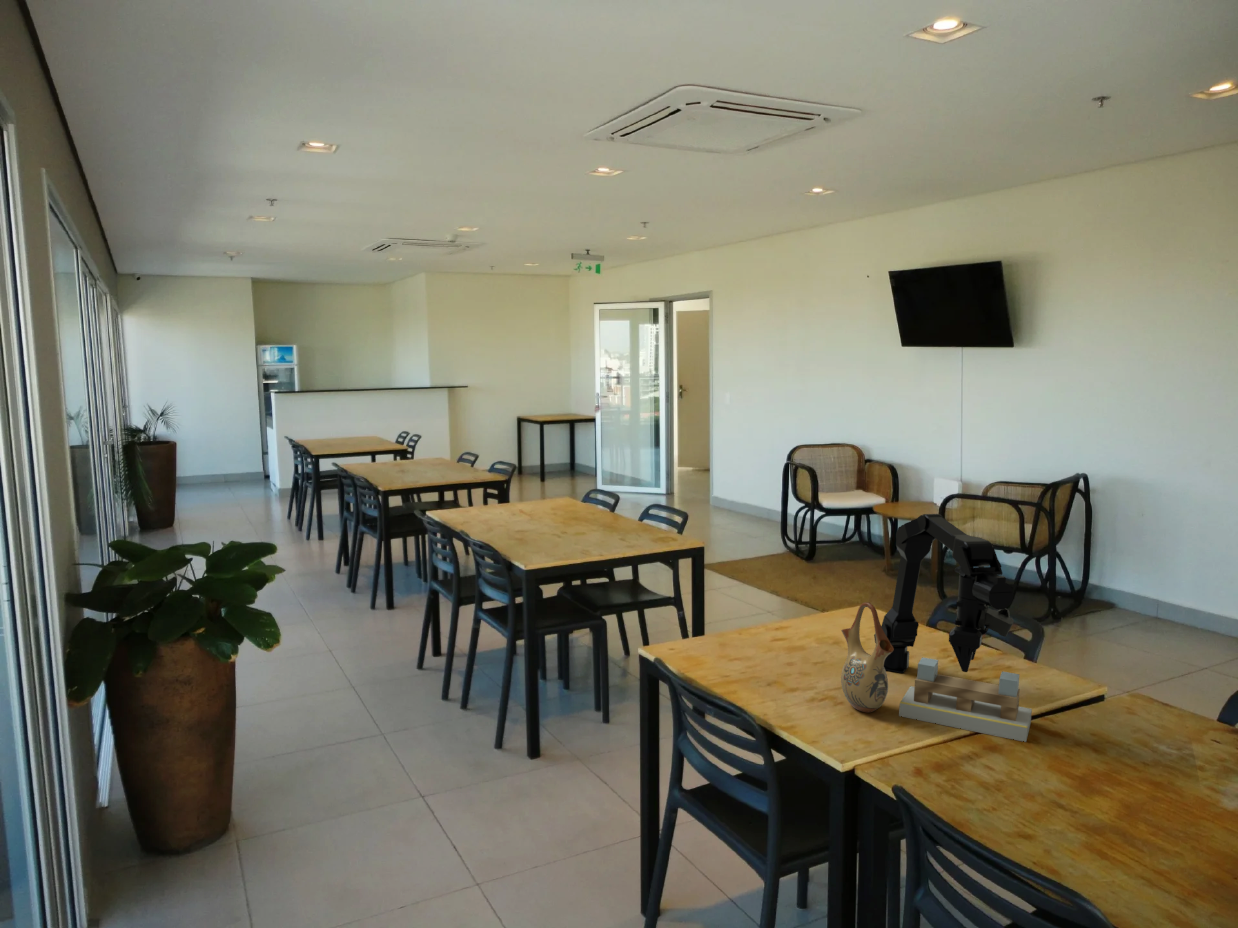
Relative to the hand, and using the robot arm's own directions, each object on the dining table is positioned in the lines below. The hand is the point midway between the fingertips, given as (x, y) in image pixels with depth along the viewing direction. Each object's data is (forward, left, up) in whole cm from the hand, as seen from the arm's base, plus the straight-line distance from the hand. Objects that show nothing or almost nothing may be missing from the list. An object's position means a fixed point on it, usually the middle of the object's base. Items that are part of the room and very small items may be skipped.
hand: (967, 665), depth 193 cm
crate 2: (+8, 0, -4) cm, 10 cm away
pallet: (0, 0, -9) cm, 9 cm away
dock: (0, 0, -12) cm, 12 cm away
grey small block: (-9, 0, -4) cm, 10 cm away
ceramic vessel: (-21, -6, -13) cm, 25 cm away
